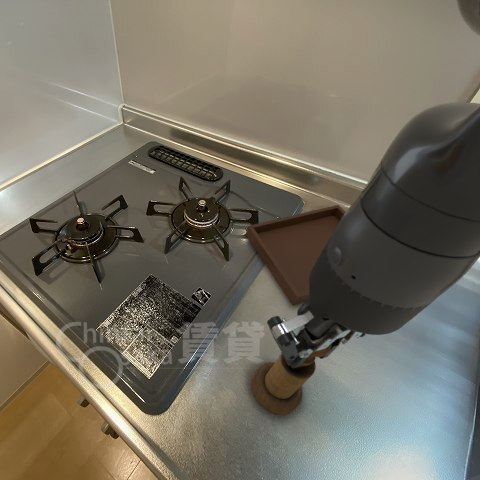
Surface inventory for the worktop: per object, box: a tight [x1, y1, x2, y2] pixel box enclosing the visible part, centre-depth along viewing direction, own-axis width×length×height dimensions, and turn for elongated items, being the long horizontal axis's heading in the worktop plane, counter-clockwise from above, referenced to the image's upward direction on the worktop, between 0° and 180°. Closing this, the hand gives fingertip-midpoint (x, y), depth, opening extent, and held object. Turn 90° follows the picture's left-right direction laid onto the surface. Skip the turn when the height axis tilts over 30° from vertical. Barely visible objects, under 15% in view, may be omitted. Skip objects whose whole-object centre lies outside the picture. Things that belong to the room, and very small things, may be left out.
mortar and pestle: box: [250, 335, 332, 416], centre depth 38 cm, size 7×6×18 cm
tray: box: [245, 204, 346, 306], centre depth 61 cm, size 22×18×3 cm
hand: (304, 354), depth 35 cm, fingers closed on mortar and pestle, 3 cm apart
